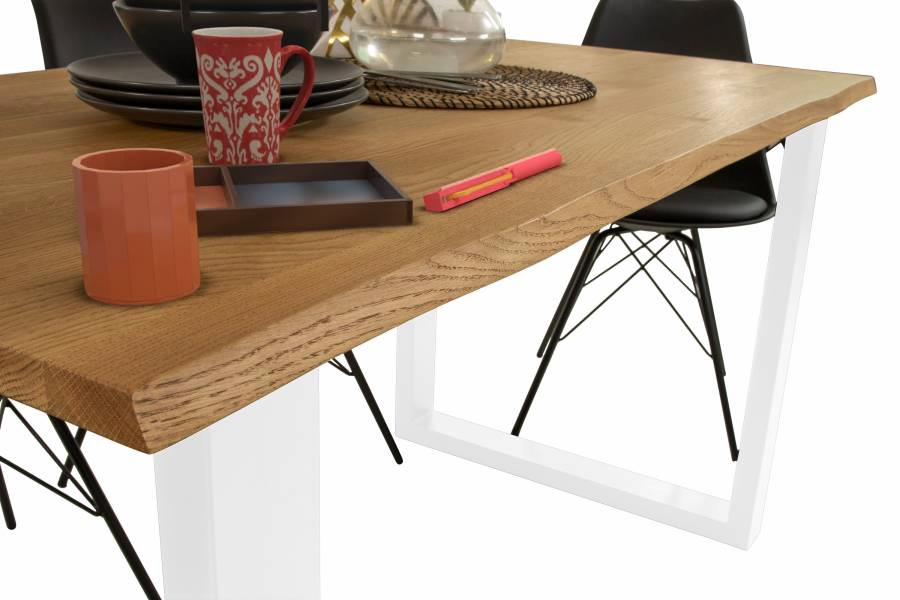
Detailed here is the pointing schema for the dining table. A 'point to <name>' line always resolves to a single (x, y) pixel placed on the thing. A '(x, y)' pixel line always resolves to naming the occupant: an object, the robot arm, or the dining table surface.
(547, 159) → the pink highlighter pen
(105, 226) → the terracotta cup
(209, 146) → the mug
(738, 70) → the dining table surface
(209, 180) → the tray
